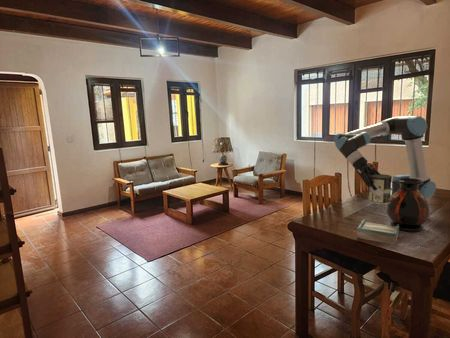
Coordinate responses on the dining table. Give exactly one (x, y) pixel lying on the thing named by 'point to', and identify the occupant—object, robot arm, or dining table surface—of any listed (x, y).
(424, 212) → the amphora vase
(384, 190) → the coffee can
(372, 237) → the clear glass tray
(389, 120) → the robot arm
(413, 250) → the dining table surface
